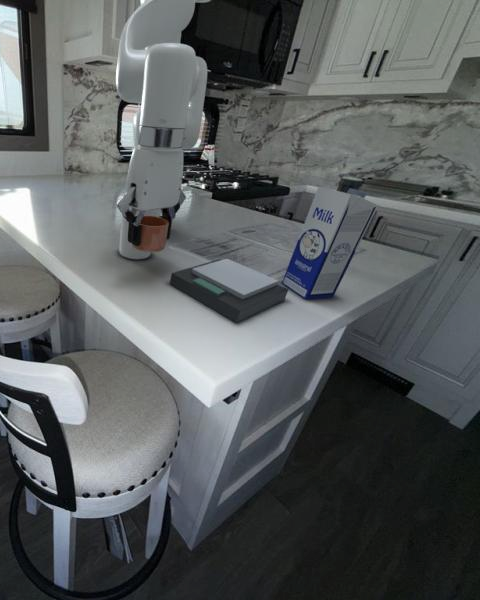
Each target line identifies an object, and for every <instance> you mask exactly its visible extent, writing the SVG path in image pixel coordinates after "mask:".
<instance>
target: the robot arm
mask: <svg viewBox="0 0 480 600" xmlns="http://www.w3.org/2000/svg"><path fill="white" fill-rule="evenodd" d="M211 1H212V0H139V3H140V5H139V6H138V7H137V8H136V9H135V11H134V12H133V13H132V14H131V15H130V17H129V18H128V19H127V21H126V22H125V24H124V26H123V29H122V31H121V33H120V34H121V35H120V37H119V44H118V53H117V61H116V69H115V72H116V73H115V85H116V86H115V87H116V91H117V95H118V96H119V98H120V99H121V100H122V101H124V102H126V103H130V104H140V105H141V106H140V107H139V109H137V110H136V112H135V113H134V115H133V120H132V137H133V150H132V153H131V157H130V159H129V164H128V169H127V175H126V181H125V189H124V190H125V191H124V195H123V196H122V197H120V199H119V200H118V201H117V202H116V205H115V206H116V208H117V209H118V211H119V212H120V213H121V216H122V215H123V217H124V218H125V219H126V221H127V222H129V226H128V242H130V243H132V244H133V245H135V246H139V245H140V242H141V233H142V226H141V225H139V224H140V222H141V220H142V218H143V216H144V213H145V211H149V210H156V213H155V216H157V217H161V218H164V219H166V220H167V221H168V222H169V225H168V231H167V238H166V241H167V240H170V238H171V237H170V236H171V230H172V224H173V220H175V218H176V214H177V213H178V212H179V210H180V209H181V206H182V205H183V203H184V202H185V200H186V199H187V196H186V194H185V192H184V191H183V190H182V184H183V175H184V150H190V149H192V148H194V147H196V145H197V143H198V140H199V137H200V133H201V127H202V119H203V112H204V105H205V104H204V103H205V97H206V91H207V84H208V66H207V65H208V64H207V62H206V60H204V58H203V57H200V56H197V55H196V51H195V49H194V47H192V46H190V45H188V44H186V43H185V44H184V43H181V39H182V31H184V30H185V29H186V28H187V27H188V26H189V24H190V22H191V20H192V18H193V16H194V12H195V8H196V3H198V4H199V3H201V4H203V3H209V2H211ZM128 206H131V208H130V210H129V208H128ZM136 211H138V212H137V215H136V217H135V213H136Z"/></svg>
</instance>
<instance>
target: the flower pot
mask: <svg viewBox="0 0 480 600" xmlns="http://www.w3.org/2000/svg"><path fill="white" fill-rule="evenodd" d="M139 225H141V226H142V233H141V242H140V245H139V246H135V245H133V244H132V243H131V245H132V247H134V248H135V249H138V250H141V251H145V252H151V253H157V252H161V251H163V250H165V248H166V245H167V244H166V243H167V240H166V238H167V231H168V225H169V222H168V221H167V220H166V219H164V218H161V217H157V216H143V218H142V220H141V222H140V224H139Z"/></svg>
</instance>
